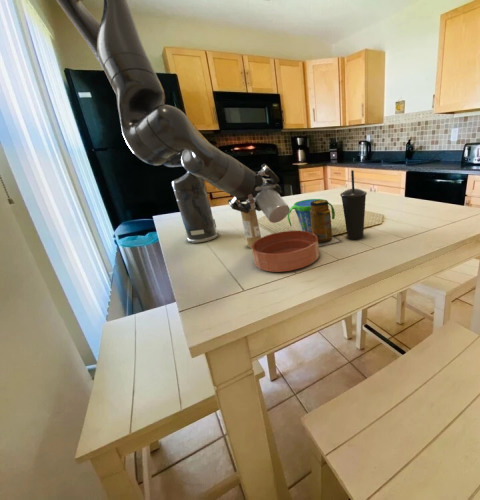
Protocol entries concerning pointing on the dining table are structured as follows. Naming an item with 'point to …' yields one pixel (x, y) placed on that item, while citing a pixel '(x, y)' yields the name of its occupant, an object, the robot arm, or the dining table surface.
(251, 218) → the sprinkles bottle
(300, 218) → the snack cup
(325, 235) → the condiment
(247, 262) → the dining table surface
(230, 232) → the dining table surface
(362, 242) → the dining table surface
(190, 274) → the dining table surface
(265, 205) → the white cup
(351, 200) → the drinking cup
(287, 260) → the bowl
